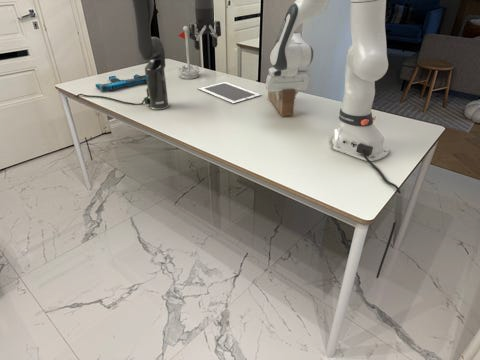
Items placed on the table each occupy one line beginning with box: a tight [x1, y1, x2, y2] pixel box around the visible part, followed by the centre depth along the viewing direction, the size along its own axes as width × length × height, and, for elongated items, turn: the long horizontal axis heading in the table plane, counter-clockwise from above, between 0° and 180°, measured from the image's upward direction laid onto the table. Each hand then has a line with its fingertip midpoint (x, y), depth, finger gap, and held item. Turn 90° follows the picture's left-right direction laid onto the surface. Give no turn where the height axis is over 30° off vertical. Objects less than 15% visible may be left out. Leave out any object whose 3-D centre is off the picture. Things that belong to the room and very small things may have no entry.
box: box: [267, 89, 296, 117], centre depth 170 cm, size 27×6×12 cm, turn 10°
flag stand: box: [177, 25, 200, 80], centre depth 211 cm, size 13×13×30 cm
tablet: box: [197, 81, 262, 105], centre depth 193 cm, size 32×20×1 cm, turn 41°
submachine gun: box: [94, 74, 147, 92], centre depth 207 cm, size 34×4×25 cm
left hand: (206, 48), depth 147 cm, fingers open, 8 cm apart
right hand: (286, 99), depth 162 cm, fingers closed on box, 6 cm apart
